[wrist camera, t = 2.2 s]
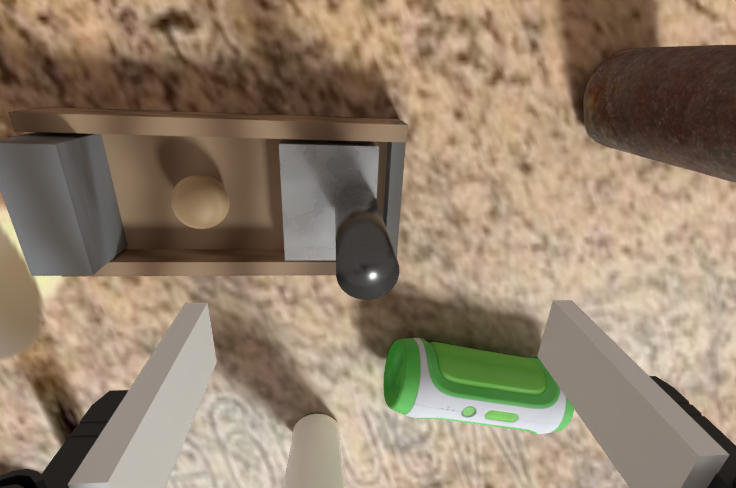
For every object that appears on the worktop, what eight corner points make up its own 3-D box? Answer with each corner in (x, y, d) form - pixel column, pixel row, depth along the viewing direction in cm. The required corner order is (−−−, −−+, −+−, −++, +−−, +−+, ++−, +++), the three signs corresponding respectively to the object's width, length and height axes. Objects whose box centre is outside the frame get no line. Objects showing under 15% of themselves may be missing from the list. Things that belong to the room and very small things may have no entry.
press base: (91, 254, 33) (38, 294, 27) (49, 107, 28) (-27, 116, 22) (389, 254, 35) (401, 291, 29) (399, 118, 30) (415, 130, 24)
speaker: (378, 373, 41) (387, 433, 34) (397, 318, 38) (411, 371, 32) (522, 395, 44) (556, 453, 38) (549, 346, 42) (592, 399, 35)
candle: (656, 137, 33) (1057, 217, 15) (572, 156, 33) (869, 259, 15) (666, 39, 30) (1196, -15, 11) (574, 60, 30) (955, 40, 12)
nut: (186, 217, 31) (166, 237, 27) (178, 168, 29) (156, 182, 25) (237, 218, 31) (224, 237, 27) (232, 169, 29) (218, 183, 26)
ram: (288, 247, 32) (262, 346, 21) (282, 138, 29) (248, 183, 17) (371, 247, 33) (393, 343, 21) (376, 141, 29) (406, 186, 18)
